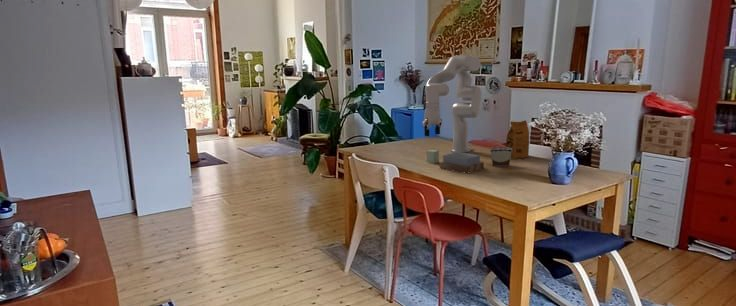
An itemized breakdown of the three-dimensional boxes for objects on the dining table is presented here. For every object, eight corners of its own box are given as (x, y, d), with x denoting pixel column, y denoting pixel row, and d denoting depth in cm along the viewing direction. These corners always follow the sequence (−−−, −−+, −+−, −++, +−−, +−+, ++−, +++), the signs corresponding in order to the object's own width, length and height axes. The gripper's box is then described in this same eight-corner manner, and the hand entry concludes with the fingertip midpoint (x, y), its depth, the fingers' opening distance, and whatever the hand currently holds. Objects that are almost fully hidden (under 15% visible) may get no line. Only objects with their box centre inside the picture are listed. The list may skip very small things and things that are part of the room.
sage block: (432, 160, 285) (432, 149, 284) (438, 162, 281) (438, 150, 280) (426, 162, 282) (426, 150, 280) (433, 163, 278) (433, 151, 277)
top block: (456, 158, 274) (456, 151, 273) (479, 162, 262) (479, 155, 261) (443, 162, 266) (443, 155, 265) (466, 166, 254) (466, 159, 253)
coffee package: (503, 156, 291) (504, 120, 286) (521, 154, 294) (522, 119, 289) (512, 159, 281) (513, 122, 277) (530, 157, 284) (532, 121, 280)
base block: (456, 164, 276) (456, 157, 276) (483, 169, 264) (483, 162, 263) (439, 169, 266) (439, 162, 265) (466, 174, 253) (466, 167, 252)
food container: (510, 163, 272) (510, 146, 270) (512, 165, 266) (512, 148, 264) (488, 163, 273) (488, 146, 271) (489, 166, 267) (490, 148, 265)
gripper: (436, 104, 283) (436, 132, 286) (417, 106, 271) (417, 136, 275) (446, 105, 278) (446, 133, 281) (427, 107, 266) (427, 137, 269)
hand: (432, 135), depth 278 cm, fingers open, 9 cm apart
